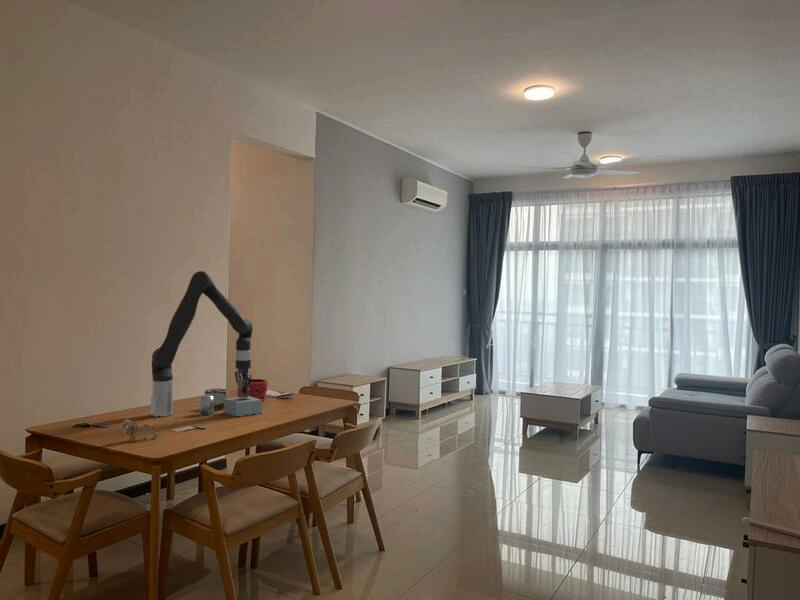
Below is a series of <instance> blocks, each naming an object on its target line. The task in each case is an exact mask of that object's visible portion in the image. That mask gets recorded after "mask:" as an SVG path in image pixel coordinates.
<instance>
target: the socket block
mask: <svg viewBox="0 0 800 600" xmlns="http://www.w3.org/2000/svg"><path fill="white" fill-rule="evenodd" d="M223 413H224V414H226V413H227V415H229V414H230V415H229V416H232V415H233V416H232V417H234V416H236V417H235V418H238V417H237V416H241V417H246V416H245V415H248V416H253V415H252V414H256V415H260V414H259V413H262V414H263V402H262V400H261V399H257V398H254V397H250V396H249V397H246V398H239V397H238V396H237V397H230V398H226V399H224V410H223Z"/></svg>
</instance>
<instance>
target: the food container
mask: <svg viewBox="0 0 800 600" xmlns="http://www.w3.org/2000/svg"><path fill="white" fill-rule="evenodd" d="M228 393H229V392H228V390H227V388H209V389H205V390H204V394H203V395H213V396H214V410H218V409H224V399H227V395H229V394H228Z"/></svg>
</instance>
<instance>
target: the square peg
mask: <svg viewBox="0 0 800 600" xmlns="http://www.w3.org/2000/svg"><path fill="white" fill-rule="evenodd" d="M244 380H245V379H244ZM249 390H250V388H249V385H248V386H247V393H245V394H244V393H243V382H242V380H241V379H238V383H237V397H239V398H246V397H249Z"/></svg>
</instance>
